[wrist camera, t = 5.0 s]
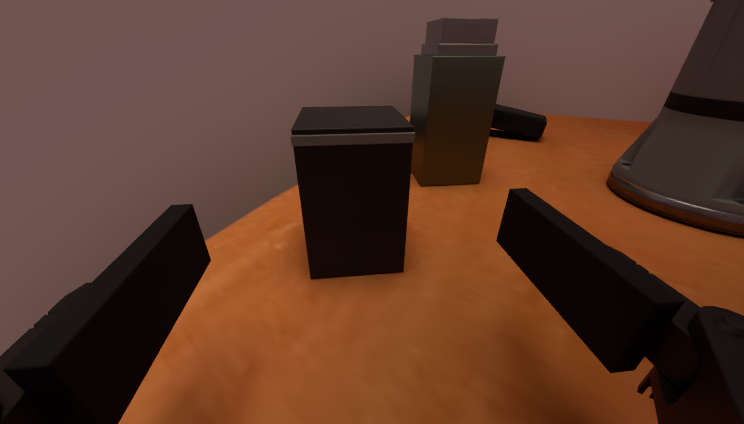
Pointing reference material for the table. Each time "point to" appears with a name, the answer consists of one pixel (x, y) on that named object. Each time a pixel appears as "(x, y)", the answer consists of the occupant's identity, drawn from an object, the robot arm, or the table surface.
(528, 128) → the walkie-talkie
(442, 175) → the olive square canister
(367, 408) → the table surface
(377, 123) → the dark lidded box
